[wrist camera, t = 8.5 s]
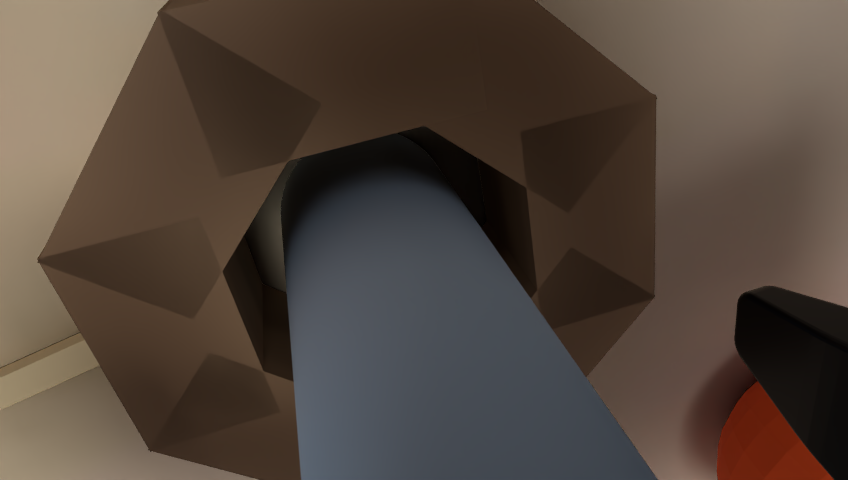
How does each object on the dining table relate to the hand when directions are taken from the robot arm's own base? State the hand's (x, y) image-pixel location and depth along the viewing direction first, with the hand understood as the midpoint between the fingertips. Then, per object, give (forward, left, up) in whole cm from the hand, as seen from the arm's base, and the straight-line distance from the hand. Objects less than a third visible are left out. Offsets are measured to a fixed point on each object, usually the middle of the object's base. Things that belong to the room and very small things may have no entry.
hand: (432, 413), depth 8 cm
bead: (0, 0, -6) cm, 6 cm away
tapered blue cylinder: (0, 0, -6) cm, 6 cm away
